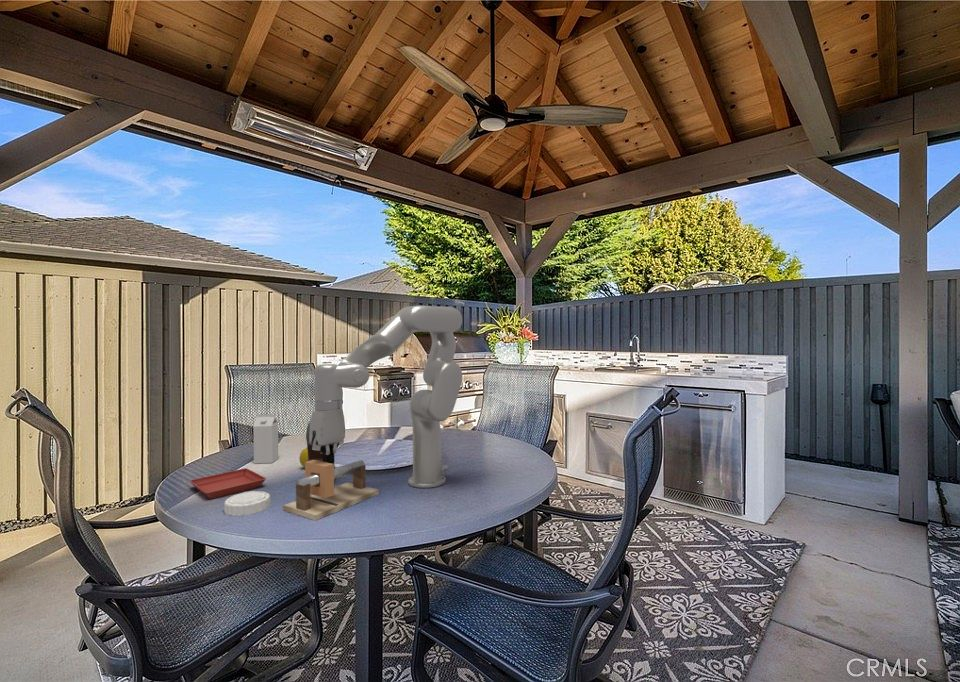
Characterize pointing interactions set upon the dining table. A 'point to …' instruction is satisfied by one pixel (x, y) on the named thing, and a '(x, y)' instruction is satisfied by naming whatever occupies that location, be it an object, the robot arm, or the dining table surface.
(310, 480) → the pipe
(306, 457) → the lemon
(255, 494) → the mooncake
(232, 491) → the plant saucer
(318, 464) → the collar
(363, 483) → the pipe stand
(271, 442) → the milk carton
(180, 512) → the dining table surface
